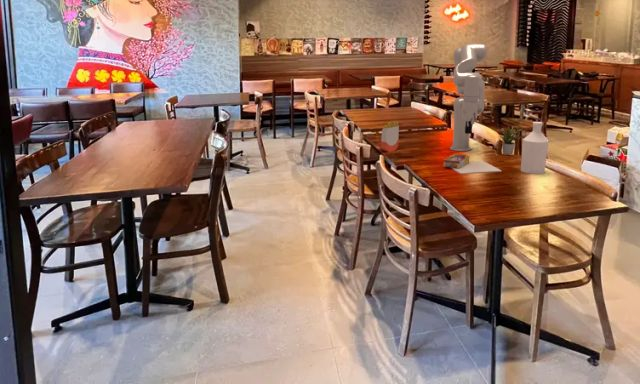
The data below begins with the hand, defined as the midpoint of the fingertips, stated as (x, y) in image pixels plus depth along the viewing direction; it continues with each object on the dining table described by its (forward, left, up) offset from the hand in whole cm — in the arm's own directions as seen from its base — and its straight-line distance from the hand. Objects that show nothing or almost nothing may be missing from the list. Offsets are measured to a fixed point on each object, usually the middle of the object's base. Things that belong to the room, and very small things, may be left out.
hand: (468, 133), depth 274 cm
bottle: (+21, +27, -17) cm, 38 cm away
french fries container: (-41, -31, -17) cm, 54 cm away
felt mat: (+9, 0, -17) cm, 19 cm away
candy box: (-3, -1, -15) cm, 15 cm away
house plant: (-16, +34, -17) cm, 41 cm away
